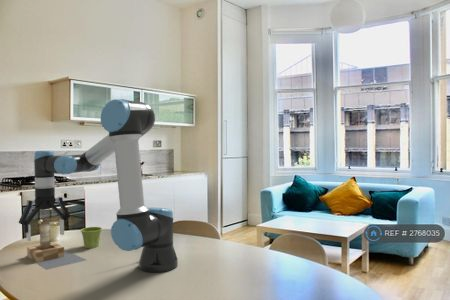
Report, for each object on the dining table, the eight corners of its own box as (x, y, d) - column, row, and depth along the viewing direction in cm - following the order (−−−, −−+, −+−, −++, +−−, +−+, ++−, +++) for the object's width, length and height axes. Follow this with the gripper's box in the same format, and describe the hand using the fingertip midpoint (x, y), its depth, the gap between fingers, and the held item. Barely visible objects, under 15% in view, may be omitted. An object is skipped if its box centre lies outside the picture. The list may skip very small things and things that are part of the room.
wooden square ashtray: (64, 256, 163) (64, 247, 162) (37, 262, 155) (36, 252, 155) (53, 251, 170) (53, 242, 170) (27, 256, 162) (27, 247, 162)
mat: (86, 261, 158) (86, 260, 158) (46, 270, 146) (46, 269, 146) (62, 249, 174) (62, 248, 174) (24, 257, 163) (24, 256, 163)
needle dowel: (52, 256, 162) (51, 219, 162) (42, 258, 160) (41, 221, 159) (48, 254, 165) (47, 218, 165) (38, 256, 162) (38, 220, 162)
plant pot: (98, 250, 173) (97, 231, 173) (77, 250, 174) (77, 231, 173) (105, 244, 183) (104, 226, 182) (85, 244, 183) (85, 226, 183)
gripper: (70, 184, 173) (71, 230, 174) (9, 189, 155) (10, 241, 156) (77, 185, 168) (78, 233, 168) (15, 190, 150) (16, 244, 151)
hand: (45, 237), depth 162 cm, fingers open, 13 cm apart
